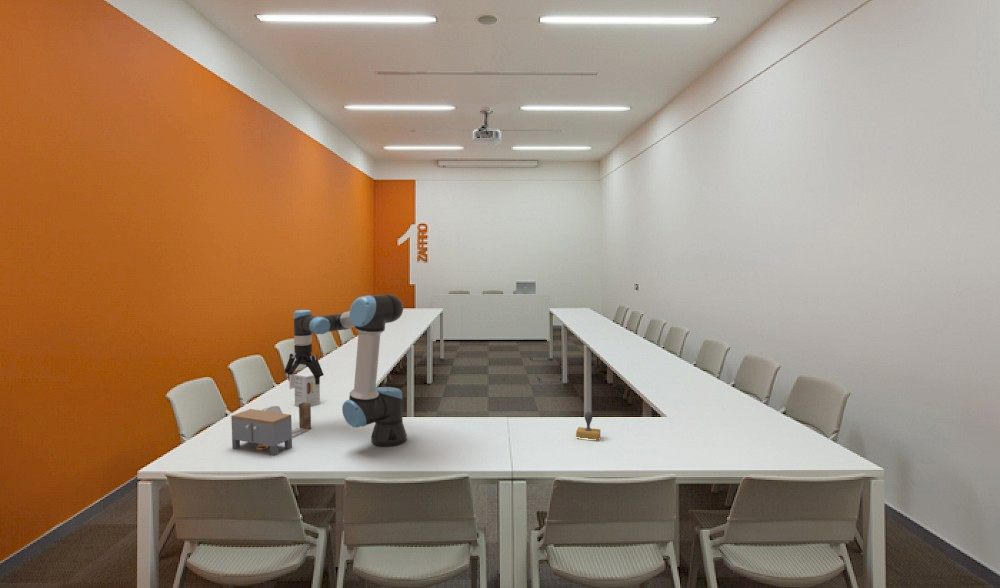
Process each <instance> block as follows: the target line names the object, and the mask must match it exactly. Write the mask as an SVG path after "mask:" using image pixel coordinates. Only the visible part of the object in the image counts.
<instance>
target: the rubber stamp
mask: <svg viewBox="0 0 1000 588" xmlns="http://www.w3.org/2000/svg"><path fill="white" fill-rule="evenodd" d="M584 420H585V423H586V427H581V426H579V427H577V429H576V430H575V431H576V432H575V438H576V437H580V438H588V439H596V440H599V438H600V439H601V429H600V428H591V423H592V420H593V414H592V412H591V411H586V412H585V413H584ZM599 441H600V440H599Z"/></svg>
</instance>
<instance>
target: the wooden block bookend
mask: <svg viewBox="0 0 1000 588" xmlns="http://www.w3.org/2000/svg"><path fill="white" fill-rule="evenodd" d="M311 410H312V408H311V403H305V402H303V403H301V404H299V406H298V415H299V417H298V418H299V419H298V420H299V421H298V422H299V423H298V424H299V427H296V428H294V429H292V439H293V438H296V437H298V436H301V435H303V434H304V433H307V432H309V430H311V429H312V414H311V413H312V411H311ZM300 434H301V435H300ZM282 443H284V442H282ZM282 443H281V444H282Z"/></svg>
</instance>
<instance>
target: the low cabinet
mask: <svg viewBox="0 0 1000 588" xmlns="http://www.w3.org/2000/svg"><path fill="white" fill-rule="evenodd" d="M282 413H283V412H282ZM282 413H275V412H268V411H262V409H261V410H260V409H253V408H249V409H247V410H244V411H241V412H238V413H235V414H233V415H231V416H230V419H231V442H232V444H231V446H232V449H233V450H238V449H240V448H241V442H245V443H246V442H247V443H250V444H258V445H261V444H263V445H268V447H269V456H271V457H275V456H277V455H278V454H279V453H278V445H280V443H281V444H282V442H283V443H284V449H285V450H286V449H287V450H290V449H292V448H293V438H292V430H293V429H292V427H293V426H292V414H288V413H283V414H282Z"/></svg>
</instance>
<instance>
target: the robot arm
mask: <svg viewBox="0 0 1000 588" xmlns="http://www.w3.org/2000/svg"><path fill="white" fill-rule="evenodd" d="M401 300H402V299H400V298H399V297H398V296H396V295H394V294H390V293H388V294H375V295H369V294H368V295H364V296H359V297H357V298H356V299H355V300H354V301H353V302H352V304H351V306H350V307H349V308H350V309H349V310H348V311H344V312H340V313H336V314H326V315H325V314H324V315H318V316H316V315H312V310H310V309H299V310H294V312H293V337H294V338H293V342H294V348H293V349H294V350H293V351H294V352H291V353H290V354H289V357H288V358H289V359H288V361H287V364H286V366H285V368H284V374H287V376H288V377H287V378H288V379H287V380H288V383H289V384H288V385H289V386H288V387H289V388H288V389H290V390H293V389H295V375H296V373H294V372H295V371H296V370H297V368H299V366H300V365H303V366H306V367H308V369H309V372H312V374H313V375H314V378H313V392H316V391H319V384H320V383H321V382H320V381H321V377H323V376H324V372H323V369H322V367H321V363H320V362H319V359H318V355H317V354H315V355H312V353H313V344H312V342H313V339H312V338H313V337H312V336H313V335H312V334H314V335H315V334H316V335H324V334H326V333H329V332H335V331H337V332H338V331H346V330H350V329H352V328H354V329H355V330H356V331H357V332H358V333H357V335H358V337H357V346H356V347H357V348H356V349H357V350H356V360H355V370H354V371H355V374H354V384H353V389H352V390H350V392H349V396H348V397H349V399H347V400H345V401H344V402H343V403H342V406H341V407H342V416H343V418H344V419H345V421H346V423H347V424H348V425H349V426H350V427H352V428H361V427H365V426H369V425H370V424H373V423H374V427H373V429H372V433H371V437H370V439H371V440H370V442H371V444H372V443H373V444H372V445H375V446H377V445H378V447H394V445H395V446H399V445H401V443H402V444H404V443H406V441H407V440H408V437H407V431H406V428H405V426H404V421H403V400H404V399H403V392H402V390H401V389H400V388H398V387H393V386H379V387H377V378H378V377H377V376H378V364H379V353H380V346H381V345H380V344H381V343H380V342H381V334H383V332H385V329H386V324H388V323H393V322H395V321H397V320H399V319H400V317H401V316H402V315H403V311H404V304H403V302H402V301H401ZM316 374H317V375H316ZM398 444H399V445H398Z"/></svg>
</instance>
